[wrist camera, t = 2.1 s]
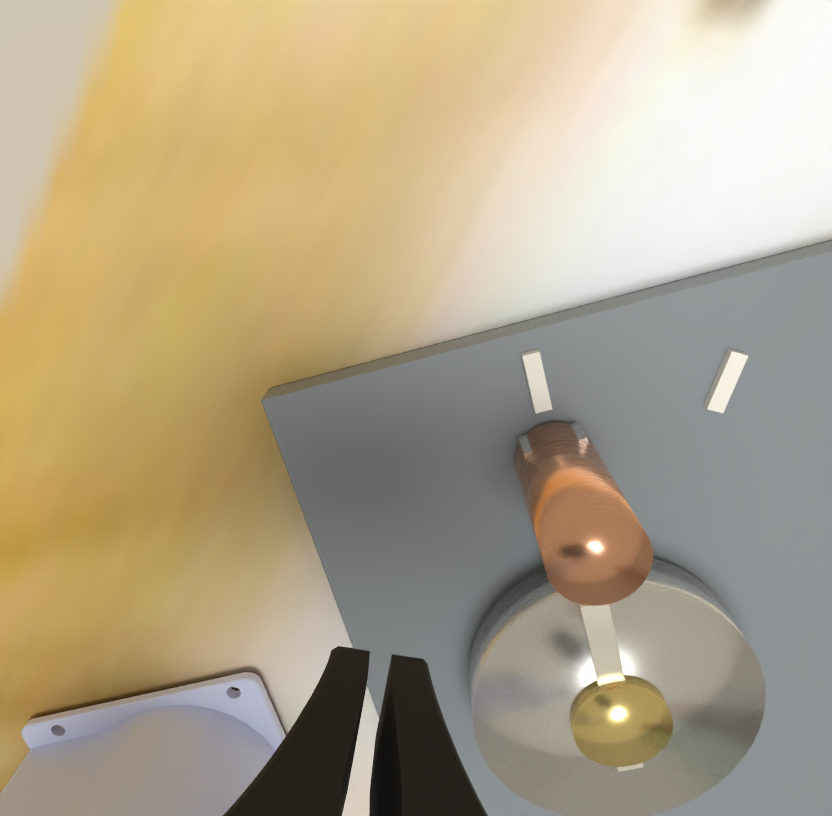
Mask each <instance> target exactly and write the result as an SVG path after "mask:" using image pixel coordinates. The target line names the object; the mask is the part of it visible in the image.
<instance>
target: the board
mask: <svg viewBox="0 0 832 816" xmlns="http://www.w3.org/2000/svg"><path fill="white" fill-rule="evenodd" d="M261 401H262V404H263V407H264V409H265V412H266V415H267V417H268V420H269V423H270V425H271V428H272V431H273V433H274V436H275V439H276V442H277V444H278V447H279V450H280V452H281V455H282V458H283V460H284V463H285V466H286V468H287V471H288V474H289V476H290V479H291V482H292V485H293V487H294V490H295V493H296V495H297V498H298V501H299V503H300V506H301V509H302V511H303V514H304V517H305V520H306V522H307V525H308V528H309V530H310V533H311V536H312V538H313V541H314V544H315V546H316V549H317V552H318V555H319V557H320V560H321V563H322V565H323V568H324V571H325V573H326V576H327V579H328V581H329V584H330V587H331V589H332V592H333V595H334V598H335V600H336V603H337V606H338V608H339V611H340V614H341V616H342V619H343V622H344V624H345V627H346V630H347V633H348V635H349V638H350V641H351V643H352V646H353V648H354V649H360V650H367V651H370V657H369V669H368V679H367V686H368V689H369V692H370V694H371V697H372V700H373V702H374V705H375V708H376V711H377V713H378V716H379V718H380V713H381V708H382V703H383V697H384V692H385V687H386V682H387V677H388V671H389V666H390V661H391V656H392V654H394V655H401V656H408V657H414V658H421V659H424V660H425V662H426V663H427V664H428V668H429V672H430V676H431V680H432V684H433V687H434V691H435V694H436V697H437V700H438V703H439V706H440V709H441V712H442V715H443V718H444V720H445V723H446V726H447V728H448V731H449V733H450V736H451V738H452V741H453V743H454V745H455V748H456V750H457V753H458V755H459V758H460V760H461V762H462V764H463V767H464V769H465V771H466V773H467V775H468V777H469V779H470V781H471V784H472V786H473V788H474V790H475V792H476V794H477V796H478V798H479V800H480V802H481V804H482V806H483V807H484V809H485V811H486V813H487V815H488V816H565V815H561V814H558V813H554V812H551V811H549V810H546V809H543V808H541V807H538V806H536V805H534V804H532V803H530V802H529V801H527V800H525V799H523V798H522V797H520V796H519V795H517V794H516V793H514V792H513V791H511V790H510V789H509V788H508V787H507V786H506V785H505V784H504V783H502V782H501V781H500V780H499V779H498V777H497V776H496V775H495V774H494V773H493V771H492V770H491V769H490V768H489V766H488V764H487V763H486V761H485V759H484V758H483V756H482V754H481V751H480V749H479V747H478V744H477V741H476V737H475V732H474V728H473V716H472V704H471V692H470V680H469V662H470V654H471V650H472V646H473V642H474V639H475V637H476V635H477V632H478V630H479V628H480V626H481V624H482V623H483V621H484V619H485V618H486V616H487V615H488V613H489V612H490V610H491V609H492V608H493V607H494V606H495V604H496V603H497V602H498V601H499V600H500V599H501V598H502V597H503V596H504V595H505V594H506V593H507V592H508V591H510V590H511V589H512V588H513V587H515V586H516V585H517V584H519V583H520V582H522V581H523V580H524V579H526V578H527V577H529V576H531V575H533V574H535V573H537V572H538V571H540V570H542V569H545V567H544V563H543V560H542V557H541V553H540V550H539V546H538V543H537V540H536V536H535V533H534V529H533V526H532V523H531V519H530V516H529V512H528V509H527V506H526V502H525V499H524V495H523V492H522V489H521V485H520V482H519V478H518V475H517V472H516V468H515V455H516V451H517V448H518V446H519V444H520V442H519V438H518V437H521V436H525V435H527V434H528V433H529V432H531V431H532V430H534V429H535V428H537V427H539V426H541V425H545V424H549V423H566V424H574V423H579V425H580V426H581V428H582V430H583V431H584V433H585V434H586V435H587V436H588V437H589V438H590V440H591V442H592V443H593V445H594V447H595V448H596V450H597V452H598V453H599V455H600V457H601V458H602V460H603V462H604V463H605V465H606V467H607V468H608V470H609V472H610V474H611V475H612V477H613V479H614V480H615V482H616V484H617V485H618V487H619V489H620V490H621V492H622V494H623V495H624V497H625V499H626V500H627V502H628V504H629V505H630V507H631V509H632V510H633V512H634V514H635V515H636V517H637V519H638V520H639V522H640V524H641V526H642V527H643V529H644V531H645V532H646V534H647V536H648V537H649V540H650V542H651V545H652V549H653V558H654V559H657V560H660V561H664V562H667V563H669V564H672V565H674V566H676V567H678V568H681V569H683V570H685V571H686V572H688V573H689V574H691V575H693V576H694V577H696V578H697V579H699V580H700V581H701V582H702V583H703V584H705V585H706V586H707V587H708V588H709V589H710V590H711V591H712V592H713V593H714V594H715V595H716V597H717V598H718V599H719V600H720V601H721V603H722V604H723V606H724V607H725V609H726V610H727V612H728V613H729V615H730V616H731V618H732V619H733V621H734V622H735V624H736V625H737V627H738V628H739V630H740V631H741V633H742V634H743V636H744V637H745V639H746V640H747V641H748V643H749V645H750V646H751V648H752V650H753V651H754V653H755V654H756V656H757V659H758V661H759V664H760V666H761V669H762V672H763V677H764V682H765V693H766V702H765V709H764V716H763V719H762V723H761V726H760V729H759V732H758V734H757V736H756V738H755V740H754V742H753V744H752V746H751V747H750V749H749V750H748V752H747V753H746V755H745V756H744V758H743V759H742V760H741V761H740V763H739V764H738V765H737V766H736V767H735V768H734V770H733V771H731V772H730V773H729V774H728V775H727V776H726V777H725V778H724V779H723V780H722V781H720V782H719V783H718V784H716V785H715V786H714V787H712V788H711V789H710V790H708V791H707V792H705V793H703V794H702V795H700V796H698V797H696V798H695V799H693V800H691V801H689V802H687V803H684V804H682V805H680V806H678V807H675V808H673V809H670V810H667V811H664V812H661V813H657V814H653V815H649V816H832V240H830V241H827V242H823V243H819V244H815V245H811V246H808V247H804V248H800V249H796V250H792V251H789V252H785V253H781V254H777V255H773V256H770V257H766V258H762V259H758V260H754V261H751V262H747V263H743V264H739V265H735V266H732V267H728V268H724V269H720V270H716V271H713V272H709V273H705V274H701V275H697V276H694V277H690V278H686V279H682V280H679V281H675V282H671V283H667V284H663V285H660V286H656V287H652V288H648V289H644V290H641V291H637V292H633V293H629V294H625V295H622V296H618V297H614V298H610V299H606V300H603V301H599V302H595V303H591V304H587V305H584V306H580V307H576V308H572V309H568V310H565V311H561V312H557V313H553V314H549V315H546V316H542V317H538V318H534V319H530V320H527V321H523V322H519V323H515V324H511V325H508V326H504V327H500V328H496V329H493V330H489V331H485V332H481V333H477V334H474V335H470V336H466V337H462V338H458V339H455V340H451V341H447V342H443V343H439V344H436V345H432V346H428V347H424V348H420V349H417V350H413V351H409V352H405V353H401V354H398V355H394V356H390V357H386V358H382V359H379V360H375V361H371V362H367V363H363V364H360V365H356V366H352V367H348V368H344V369H341V370H337V371H333V372H329V373H326V374H322V375H318V376H314V377H310V378H307V379H303V380H299V381H295V382H291V383H288V384H284V385H280V386H276V387H272V388H270V389H269V390H268V392H267V393H266V395H265V396H264V398H263V399H262V400H261Z"/></svg>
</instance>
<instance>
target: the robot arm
mask: <svg viewBox="0 0 832 816" xmlns="http://www.w3.org/2000/svg"><path fill="white" fill-rule="evenodd" d="M369 657H370V651H367V650H360V649H354V648H347V647H340V646H338V647H336V648H335V649H333V650H332V651H331V654H330V658H329V661H328V663H327V665H326V668H325V670H324V672H323V675H322V677H321V679H320V681H319V683H318V684H317V686H316V688H315V690H314V692H313V694H312V696H311V697H310V699H309V701H308V702H307V704H306V706H305V707H304V709H303V711H302V712H301V714H300V715H299V717H298V719H297V720H296V722H295V724H294V725H293V727H292V728H291V730H290V731H289V733H288V734H287V735H285V733H284V730H283V728H282V726H281V724H280V721H279V719H278V717H277V714H276V712H275V710H274V707H273V705H272V703H271V701H270V698H269V696H268V694H267V691H266V689H265V687H264V684H263V682H262V680H261V679H260V677H259V676H258V675H256V674H254V673H251V672H244V673H239V674H235V675H230V676H225V677H221V678H216V679H212V680H207V681H203V682H198V683H193V684H189V685H184V686H180V687H175V688H171V689H166V690H161V691H157V692H152V693H148V694H143V695H139V696H134V697H129V698H125V699H120V700H116V701H111V702H107V703H102V704H97V705H93V706H88V707H84V708H79V709H75V710H70V711H65V712H61V713H56V714H52V715H47V716H43V717H38V718H33V719H31V720H29V721H28V722H27V723H26V725H25V726H24V727H23V729H22V732H21V734H22V737H23V739H24V741H25V742H26V744H27V746H28V747H29V749H30V750H29V752H28V753H27V755H26V756H25V758H24V759H23V761H22V762H21V764H20V765H19V767H18V768H17V770H16V771H15V772H14V774H13V775H12V777H11V778H10V780H9V781H8V783H7V784H6V786H5V787H4V789H3V790H2V792H1V793H0V816H342V812H343V808H344V803H345V799H346V794H347V790H348V784H349V779H350V773H351V768H352V762H353V757H354V751H355V745H356V740H357V734H358V729H359V723H360V718H361V712H362V707H363V701H364V696H365V690H366V684H367V679H368V669H369ZM231 687H236V688H238V689H239V691H237V690H233V689H231ZM60 726H62V727H63V728H62V727H60ZM370 816H488V815H487V813H486V811H485V809H484V807H483V806H482V804H481V802H480V800H479V798H478V796H477V794H476V792H475V790H474V788H473V786H472V784H471V781H470V779H469V777H468V775H467V773H466V771H465V769H464V767H463V764H462V762H461V760H460V758H459V755H458V753H457V750H456V748H455V745H454V743H453V741H452V738H451V736H450V733H449V731H448V728H447V726H446V723H445V720H444V718H443V715H442V712H441V709H440V706H439V703H438V700H437V697H436V694H435V691H434V687H433V684H432V680H431V676H430V672H429V668H428V664H427V663H426V662H425V660H424V659H421V658H414V657H408V656H401V655H394V654H392V656H391V661H390V666H389V671H388V677H387V682H386V687H385V692H384V697H383V703H382V708H381V713H380V718H379V723H378V728H377V734H376V740H375V749H374V758H373V767H372V777H371V786H370Z"/></svg>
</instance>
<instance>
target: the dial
mask: <svg viewBox="0 0 832 816" xmlns="http://www.w3.org/2000/svg"><path fill="white" fill-rule="evenodd" d="M518 438H519V442H520V444H519V446H518V448H517V451H516V455H515V468H516V472H517V475H518V478H519V482H520V485H521V489H522V492H523V495H524V499H525V502H526V506H527V509H528V512H529V516H530V519H531V523H532V526H533V529H534V533H535V536H536V540H537V543H538V546H539V550H540V553H541V557H542V560H543V563H544V567H545V569H542V570H540V571H538V572H537V573H535V574H533V575H531V576H529V577H527V578H526V579H524V580H523V581H522V582H520V583H519V584H517V585H516V586H515V587H513V588H512V589H511V590H510V591H508V592H507V593H506V594H505V595H504V596H503V597H502V598H501V599H500V600H499V601H498V602H497V603H496V604H495V606H494V607H493V608H492V609H491V610H490V612H489V613H488V615H487V616H486V618H485V619H484V621H483V623H482V624H481V626H480V628H479V630H478V632H477V635H476V637H475V639H474V642H473V646H472V650H471V654H470V662H469V680H470V692H471V704H472V716H473V728H474V732H475V737H476V741H477V744H478V747H479V749H480V751H481V754H482V756H483V758H484V759H485V761H486V763H487V764H488V766H489V768H490V769H491V770H492V771H493V773H494V774H495V775H496V776H497V777H498V779H499V780H500V781H501V782H502V783H504V784H505V785H506V786H507V787H508V788H509V789H510V790H511V791H513V792H514V793H516V794H517V795H519V796H520V797H522V798H523V799H525V800H527V801H529V802H530V803H532V804H534V805H536V806H538V807H541V808H543V809H546V810H549V811H551V812H554V813H558V814H561V815H565V816H649V815H653V814H657V813H661V812H664V811H667V810H670V809H673V808H675V807H678V806H680V805H682V804H684V803H687V802H689V801H691V800H693V799H695V798H696V797H698V796H700V795H702V794H703V793H705V792H707V791H708V790H710V789H711V788H712V787H714V786H715V785H716V784H718V783H719V782H720V781H722V780H723V779H724V778H725V777H726V776H727V775H728V774H729V773H730V772H731V771H733V770H734V768H735V767H736V766H737V765H738V764H739V763H740V761H741V760H742V759H743V758H744V756H745V755H746V753H747V752H748V750H749V749H750V747H751V746H752V744H753V742H754V740H755V738H756V736H757V734H758V732H759V729H760V726H761V723H762V719H763V716H764V709H765V702H766V693H765V682H764V677H763V672H762V669H761V666H760V664H759V661H758V659H757V656H756V654H755V653H754V651H753V650H752V648H751V646H750V645H749V643H748V641H747V640H746V639H745V637H744V636H743V634H742V633H741V631H740V630H739V628H738V627H737V625H736V624H735V622H734V621H733V619H732V618H731V616H730V615H729V613H728V612H727V610H726V609H725V607H724V606H723V604H722V603H721V601H720V600H719V599H718V598H717V597H716V595H715V594H714V593H713V592H712V591H711V590H710V589H709V588H708V587H707V586H706V585H705V584H703V583H702V582H701V581H700V580H699V579H697V578H696V577H694V576H693V575H691V574H689V573H688V572H686V571H685V570H683V569H681V568H678V567H676V566H674V565H672V564H669V563H667V562H664V561H660V560H657V559H654V558H653V549H652V545H651V542H650V540H649V537H648V536H647V534H646V532H645V531H644V529H643V527H642V526H641V524H640V522H639V520H638V519H637V517H636V515H635V514H634V512H633V510H632V509H631V507H630V505H629V504H628V502H627V500H626V499H625V497H624V495H623V494H622V492H621V490H620V489H619V487H618V485H617V484H616V482H615V480H614V479H613V477H612V475H611V474H610V472H609V470H608V468H607V467H606V465H605V463H604V462H603V460H602V458H601V457H600V455H599V453H598V452H597V450H596V448H595V447H594V445H593V443H592V442H591V440H590V438H589V437H588V436H587V435H586V434H585V433H584V431H583V430H582V428H581V426H580V425H579V423H574V424H566V423H549V424H545V425H541V426H539V427H537V428H535V429H534V430H532V431H531V432H529V433H528V434H527V435H525V436H521V437H518Z"/></svg>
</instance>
